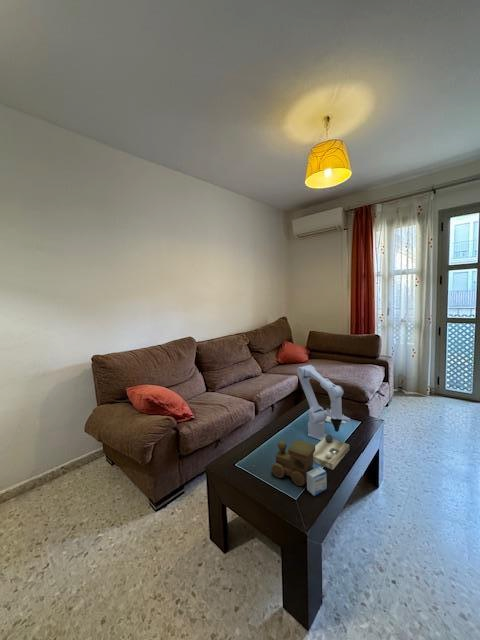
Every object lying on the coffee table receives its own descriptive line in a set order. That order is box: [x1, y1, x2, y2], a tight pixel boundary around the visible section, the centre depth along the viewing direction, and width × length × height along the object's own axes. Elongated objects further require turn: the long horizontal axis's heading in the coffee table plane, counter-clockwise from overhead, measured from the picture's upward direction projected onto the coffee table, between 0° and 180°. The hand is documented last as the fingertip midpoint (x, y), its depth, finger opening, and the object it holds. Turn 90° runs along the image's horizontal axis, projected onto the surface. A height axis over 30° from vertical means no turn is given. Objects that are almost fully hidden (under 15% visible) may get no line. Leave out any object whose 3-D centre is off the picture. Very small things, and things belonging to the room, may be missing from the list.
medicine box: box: [306, 466, 328, 497], centre depth 114 cm, size 8×4×9 cm, turn 117°
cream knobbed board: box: [313, 437, 350, 471], centre depth 140 cm, size 14×22×3 cm, turn 137°
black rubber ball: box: [325, 434, 334, 442], centre depth 147 cm, size 4×4×4 cm
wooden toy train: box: [270, 439, 316, 487], centre depth 124 cm, size 20×11×17 cm, turn 54°
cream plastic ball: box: [325, 451, 331, 458], centre depth 132 cm, size 3×3×3 cm
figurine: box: [323, 404, 347, 424], centre depth 180 cm, size 20×18×16 cm
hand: (336, 430), depth 145 cm, fingers closed
